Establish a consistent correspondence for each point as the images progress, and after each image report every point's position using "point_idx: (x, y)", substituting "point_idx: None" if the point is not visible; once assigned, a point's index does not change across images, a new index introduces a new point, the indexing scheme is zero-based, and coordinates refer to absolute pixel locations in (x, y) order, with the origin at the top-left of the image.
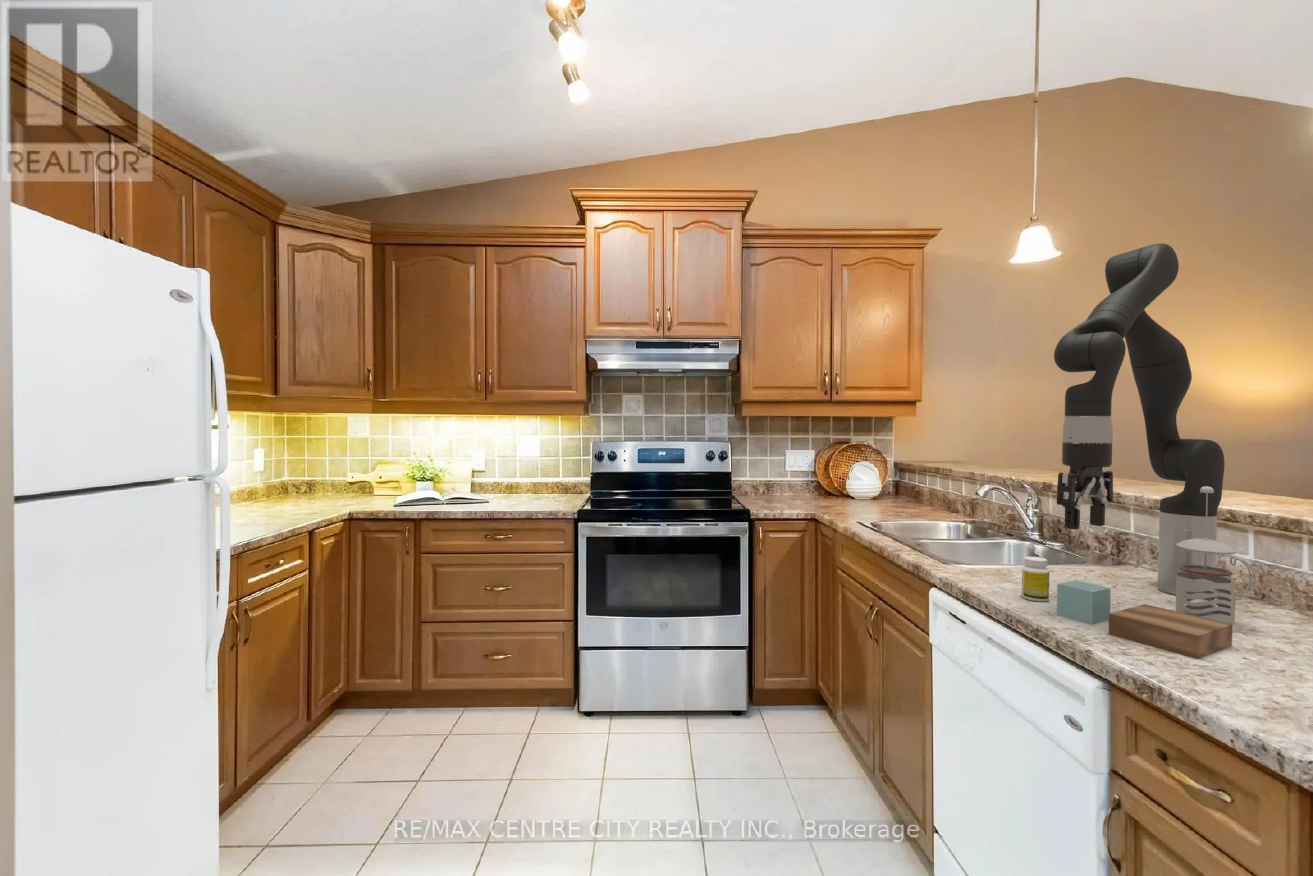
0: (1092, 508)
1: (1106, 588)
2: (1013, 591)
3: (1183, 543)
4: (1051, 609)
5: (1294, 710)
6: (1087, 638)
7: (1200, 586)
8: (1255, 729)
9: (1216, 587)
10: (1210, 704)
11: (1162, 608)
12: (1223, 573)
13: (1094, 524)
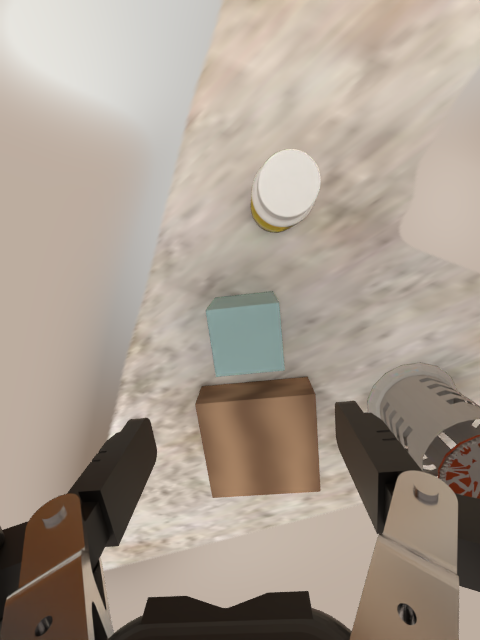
0: (371, 468)
1: (272, 369)
2: (287, 139)
3: None
4: (237, 271)
5: (160, 551)
6: (154, 386)
7: (415, 460)
8: None
9: None
10: None
11: (315, 418)
12: None
13: (337, 416)
